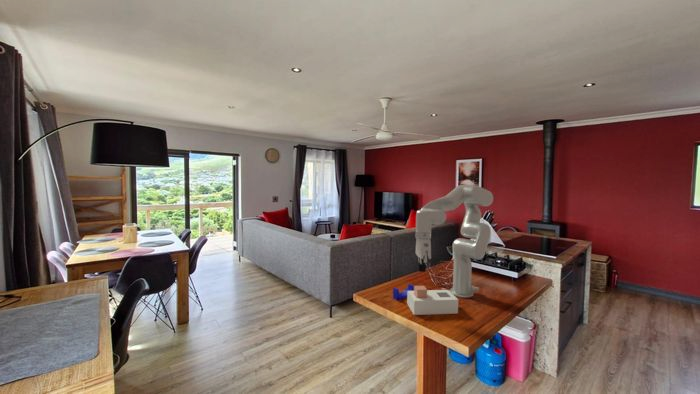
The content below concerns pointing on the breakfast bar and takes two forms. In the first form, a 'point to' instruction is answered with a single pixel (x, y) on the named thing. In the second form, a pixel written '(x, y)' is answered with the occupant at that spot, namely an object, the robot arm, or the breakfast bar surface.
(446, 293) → the charcoal plunger
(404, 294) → the blue curved piece
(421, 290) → the dusty pink cube
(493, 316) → the breakfast bar surface
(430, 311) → the block
